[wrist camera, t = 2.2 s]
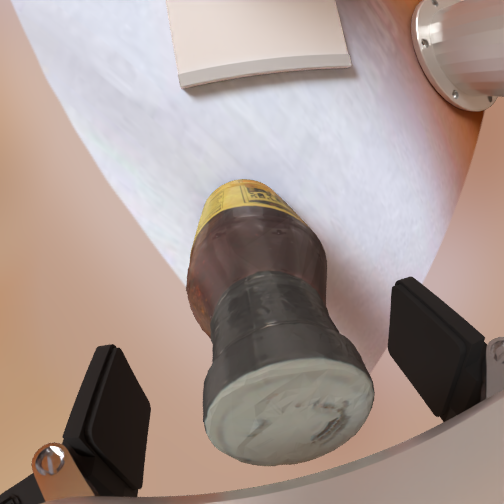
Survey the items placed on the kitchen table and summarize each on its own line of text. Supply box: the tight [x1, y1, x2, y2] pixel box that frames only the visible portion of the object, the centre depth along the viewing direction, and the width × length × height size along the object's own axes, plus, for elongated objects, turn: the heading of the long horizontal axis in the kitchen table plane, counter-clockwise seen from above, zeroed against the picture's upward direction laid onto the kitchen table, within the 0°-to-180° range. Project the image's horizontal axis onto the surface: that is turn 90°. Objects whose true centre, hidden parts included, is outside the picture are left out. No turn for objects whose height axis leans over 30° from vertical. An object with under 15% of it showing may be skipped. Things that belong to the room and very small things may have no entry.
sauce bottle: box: [186, 179, 374, 466], centre depth 15 cm, size 6×6×20 cm
